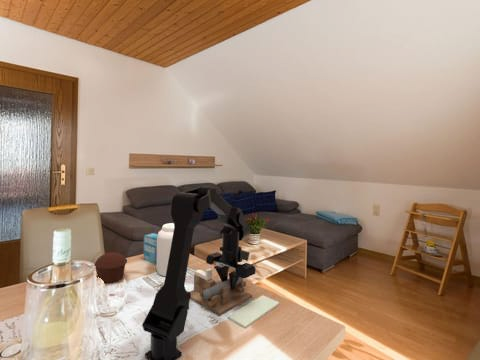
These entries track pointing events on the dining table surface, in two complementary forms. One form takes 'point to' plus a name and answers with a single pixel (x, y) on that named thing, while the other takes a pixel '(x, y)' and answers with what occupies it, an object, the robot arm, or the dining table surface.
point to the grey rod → (218, 288)
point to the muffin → (110, 267)
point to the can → (164, 247)
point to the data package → (150, 248)
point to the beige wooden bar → (204, 274)
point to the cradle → (221, 301)
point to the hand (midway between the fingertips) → (229, 287)
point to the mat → (253, 311)
